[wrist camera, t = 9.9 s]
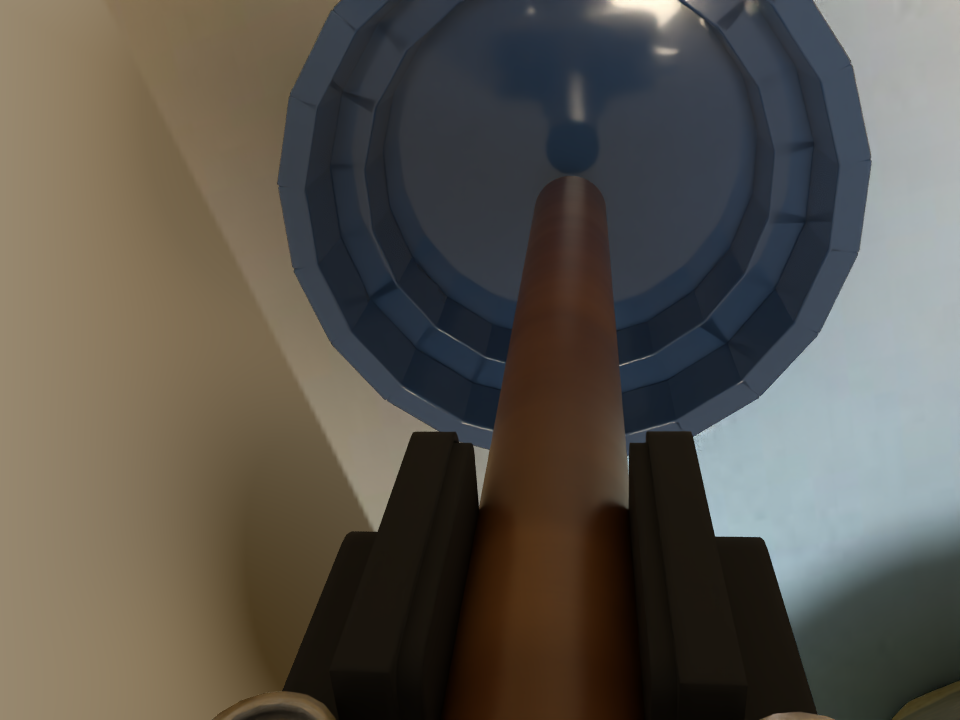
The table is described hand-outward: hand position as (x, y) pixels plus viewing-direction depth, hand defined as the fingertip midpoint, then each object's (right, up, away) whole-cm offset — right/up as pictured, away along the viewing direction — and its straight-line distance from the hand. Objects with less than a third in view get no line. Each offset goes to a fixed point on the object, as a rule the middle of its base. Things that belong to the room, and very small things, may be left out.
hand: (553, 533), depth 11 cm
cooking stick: (+2, +6, +13) cm, 15 cm away
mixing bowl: (+2, +9, +17) cm, 19 cm away
